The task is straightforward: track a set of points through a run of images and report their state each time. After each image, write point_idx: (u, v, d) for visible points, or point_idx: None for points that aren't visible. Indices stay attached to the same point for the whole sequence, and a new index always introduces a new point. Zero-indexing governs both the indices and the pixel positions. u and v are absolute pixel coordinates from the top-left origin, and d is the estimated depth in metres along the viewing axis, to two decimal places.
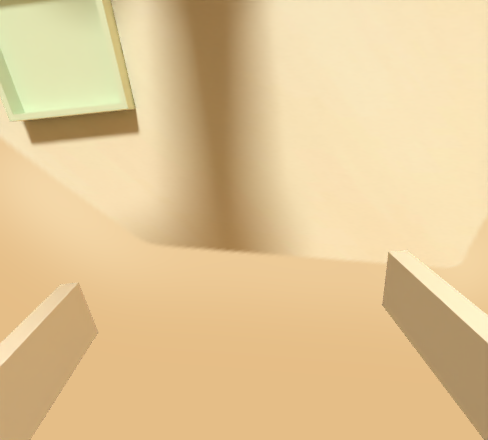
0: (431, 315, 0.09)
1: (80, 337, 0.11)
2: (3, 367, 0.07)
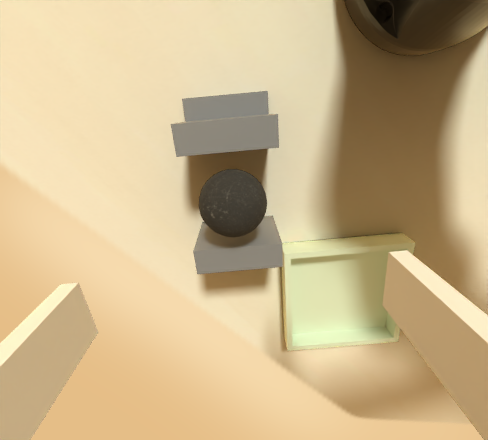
0: (431, 315, 0.09)
1: (80, 337, 0.11)
2: (3, 367, 0.07)
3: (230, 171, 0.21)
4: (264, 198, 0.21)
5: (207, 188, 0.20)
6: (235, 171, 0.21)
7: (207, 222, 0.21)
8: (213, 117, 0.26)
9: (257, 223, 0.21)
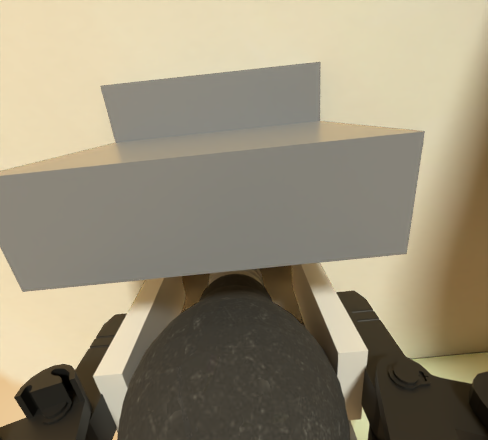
0: (304, 289, 0.10)
1: (179, 297, 0.13)
2: (152, 307, 0.09)
3: (224, 342, 0.06)
4: (348, 431, 0.06)
5: (135, 424, 0.05)
6: (242, 341, 0.06)
7: None
8: (183, 131, 0.10)
9: None
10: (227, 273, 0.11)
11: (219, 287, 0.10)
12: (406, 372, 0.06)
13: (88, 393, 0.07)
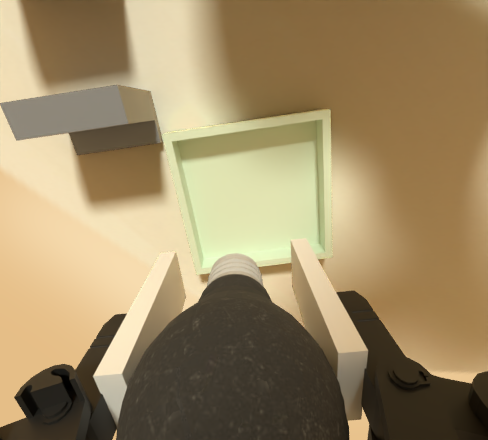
0: (304, 289, 0.10)
1: (179, 297, 0.13)
2: (152, 307, 0.09)
3: (223, 343, 0.06)
4: (347, 432, 0.06)
5: (133, 425, 0.05)
6: (241, 341, 0.06)
7: None
8: None
9: None
10: (226, 273, 0.11)
11: (218, 287, 0.09)
12: (406, 372, 0.06)
13: (88, 393, 0.07)
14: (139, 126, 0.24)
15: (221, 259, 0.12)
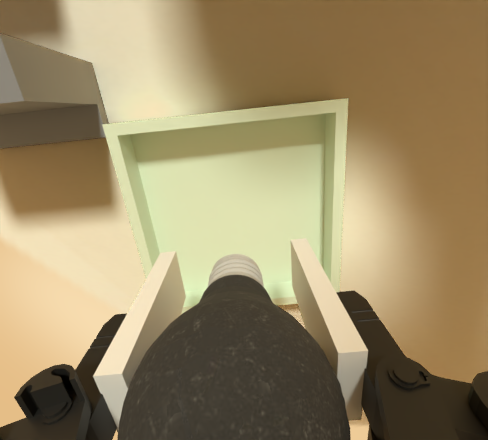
0: (304, 289, 0.10)
1: (179, 297, 0.13)
2: (152, 307, 0.09)
3: (224, 344, 0.06)
4: (348, 433, 0.06)
5: (134, 427, 0.05)
6: (242, 343, 0.06)
7: None
8: None
9: None
10: (227, 274, 0.11)
11: (219, 288, 0.09)
12: (406, 372, 0.06)
13: (88, 393, 0.07)
14: (75, 113, 0.17)
15: (222, 260, 0.12)
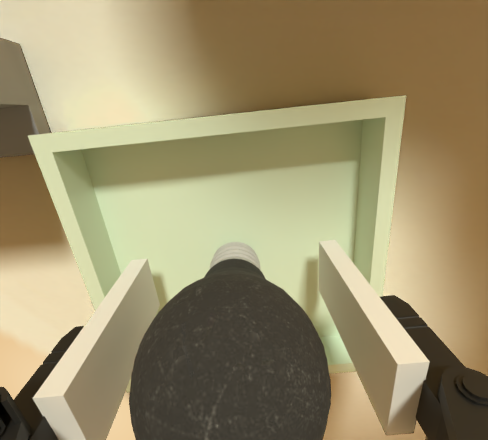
0: (339, 293, 0.10)
1: (150, 306, 0.12)
2: (111, 320, 0.09)
3: (221, 304, 0.07)
4: (328, 383, 0.07)
5: (145, 370, 0.06)
6: (237, 303, 0.07)
7: None
8: None
9: None
10: (227, 258, 0.12)
11: (219, 269, 0.10)
12: (477, 386, 0.06)
13: (30, 415, 0.07)
14: None
15: (222, 247, 0.13)
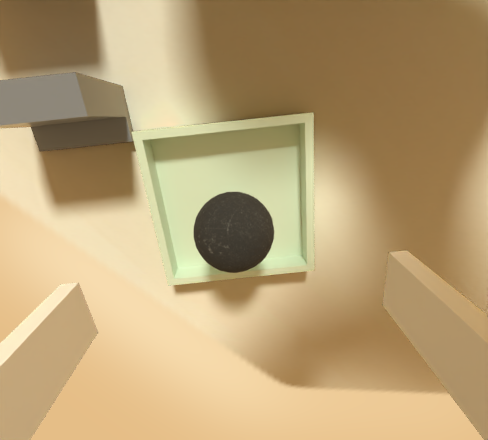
0: (431, 315, 0.09)
1: (80, 337, 0.11)
2: (3, 367, 0.07)
3: (230, 195, 0.17)
4: (271, 226, 0.18)
5: (203, 217, 0.17)
6: (236, 195, 0.17)
7: (204, 257, 0.17)
8: None
9: (264, 256, 0.18)
10: None
11: None
12: None
13: None
14: (108, 123, 0.22)
15: None
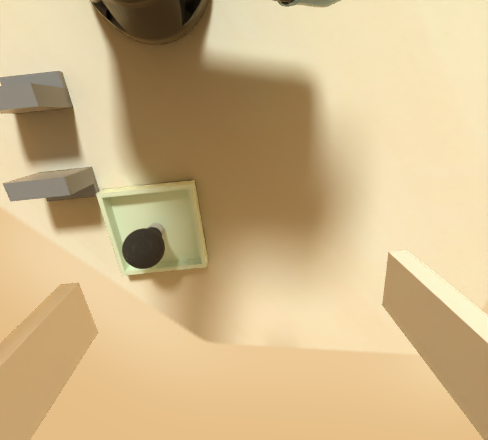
0: (431, 315, 0.09)
1: (80, 337, 0.11)
2: (3, 367, 0.07)
3: (138, 231, 0.36)
4: (159, 247, 0.36)
5: (124, 242, 0.36)
6: (141, 231, 0.36)
7: (126, 261, 0.36)
8: None
9: (155, 261, 0.36)
10: (150, 227, 0.41)
11: None
12: None
13: None
14: None
15: (151, 224, 0.43)
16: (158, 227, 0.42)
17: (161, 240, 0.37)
